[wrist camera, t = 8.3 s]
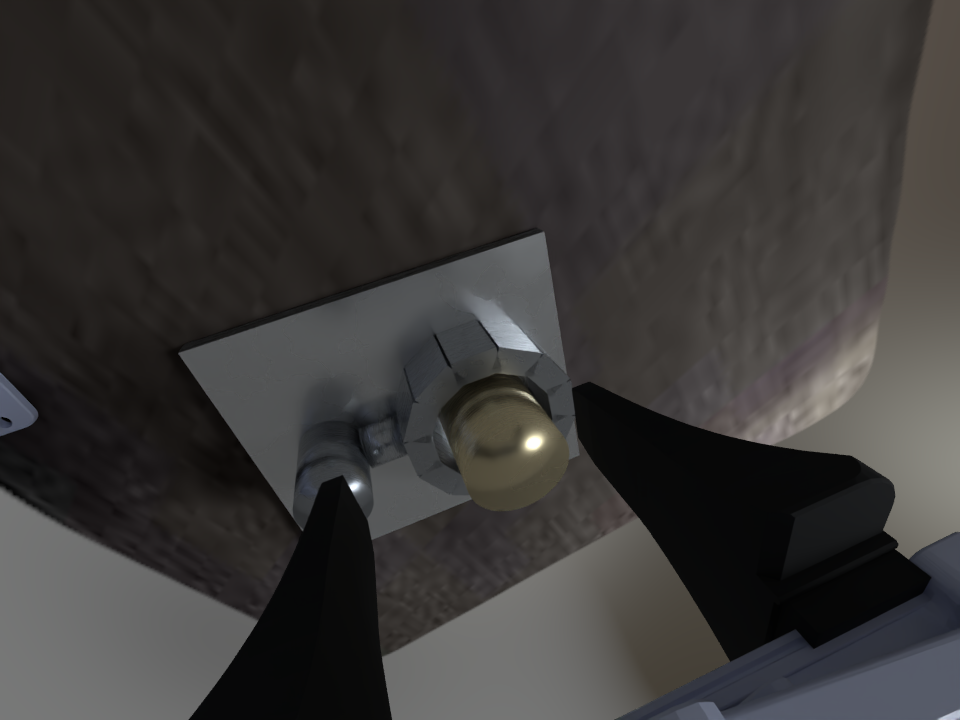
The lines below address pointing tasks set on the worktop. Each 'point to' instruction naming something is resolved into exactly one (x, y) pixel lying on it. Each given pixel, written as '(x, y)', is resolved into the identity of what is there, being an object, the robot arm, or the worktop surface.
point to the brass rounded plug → (503, 443)
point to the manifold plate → (387, 378)
